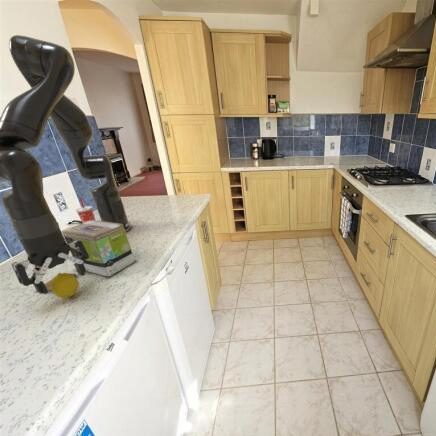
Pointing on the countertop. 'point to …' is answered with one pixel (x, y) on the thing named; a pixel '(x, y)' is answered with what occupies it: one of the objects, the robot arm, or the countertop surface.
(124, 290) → the countertop surface
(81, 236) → the tea box
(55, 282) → the lemon
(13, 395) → the countertop surface
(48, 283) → the tea sachet
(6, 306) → the countertop surface
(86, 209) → the beverage cup
